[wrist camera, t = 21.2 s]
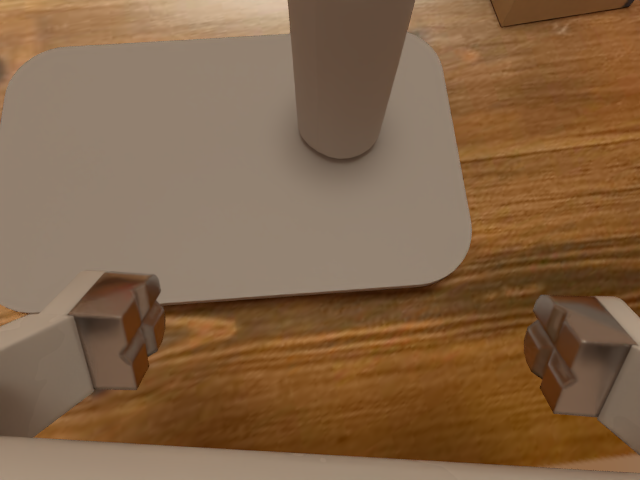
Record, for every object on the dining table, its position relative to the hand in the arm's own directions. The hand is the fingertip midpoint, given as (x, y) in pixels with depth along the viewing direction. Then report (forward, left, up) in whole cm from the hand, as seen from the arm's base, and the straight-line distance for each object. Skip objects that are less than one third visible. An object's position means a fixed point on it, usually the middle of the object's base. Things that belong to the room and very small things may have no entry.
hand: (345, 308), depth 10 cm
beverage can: (+3, -12, -13) cm, 18 cm away
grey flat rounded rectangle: (+9, -8, -15) cm, 19 cm away
